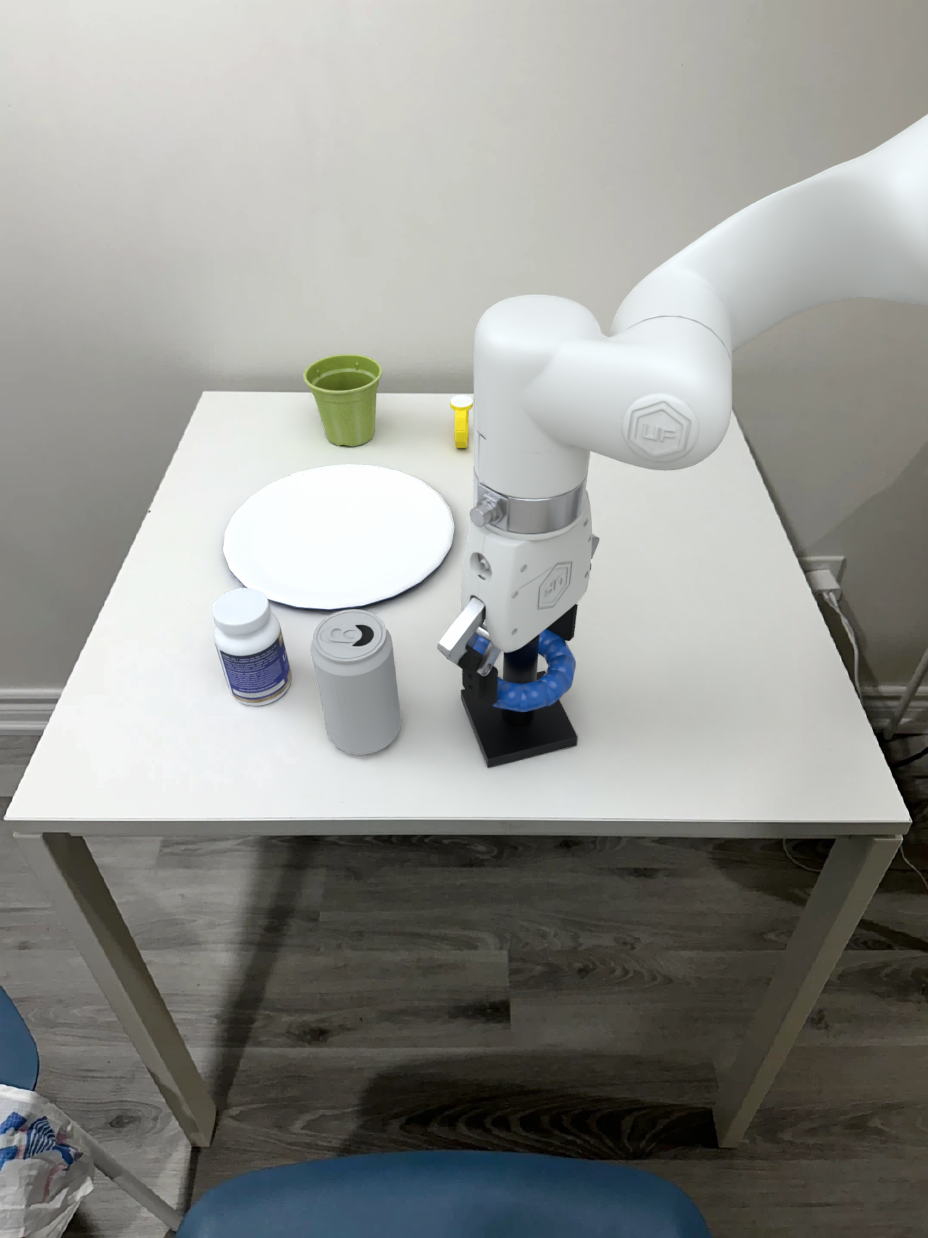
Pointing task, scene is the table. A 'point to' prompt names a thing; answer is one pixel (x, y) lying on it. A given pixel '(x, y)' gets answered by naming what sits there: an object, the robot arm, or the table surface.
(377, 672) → the beverage can
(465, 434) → the watch
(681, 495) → the table surface
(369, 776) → the table surface
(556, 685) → the ring
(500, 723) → the peg stand
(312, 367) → the plant pot
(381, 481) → the plate
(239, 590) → the pill bottle
